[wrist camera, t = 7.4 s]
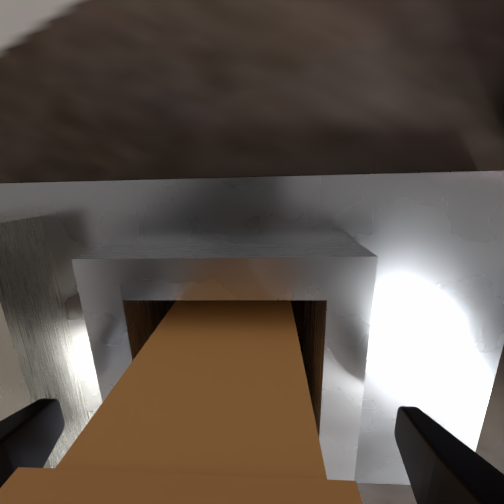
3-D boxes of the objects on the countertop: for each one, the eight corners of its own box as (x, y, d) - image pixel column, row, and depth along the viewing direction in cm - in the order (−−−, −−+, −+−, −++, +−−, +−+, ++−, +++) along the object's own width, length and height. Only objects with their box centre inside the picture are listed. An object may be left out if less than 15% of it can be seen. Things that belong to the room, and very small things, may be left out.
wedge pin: (293, 271, 11) (389, 597, 3) (290, 364, 12) (349, 797, 4) (185, 271, 11) (-69, 569, 3) (193, 362, 13) (36, 765, 4)
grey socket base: (479, 171, 10) (650, 166, 5) (428, 429, 13) (510, 555, 9) (11, 183, 11) (-162, 187, 6) (72, 420, 14) (-15, 530, 10)
